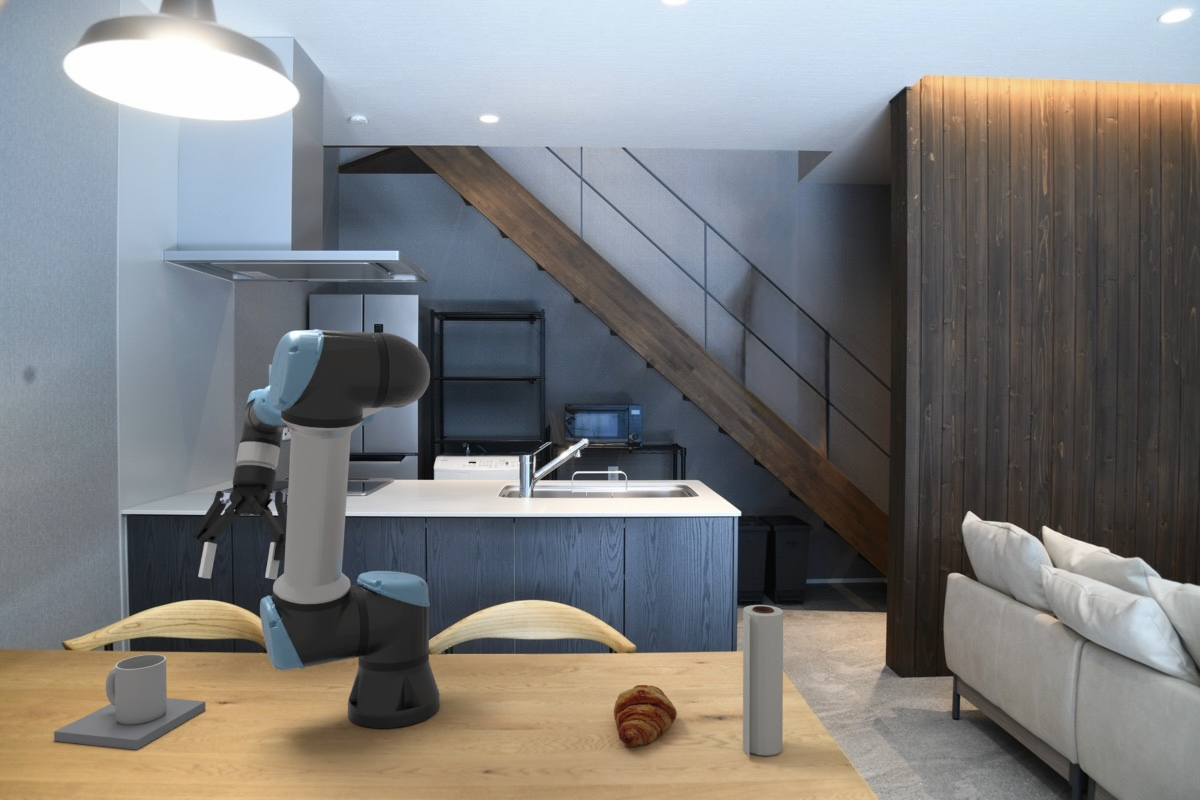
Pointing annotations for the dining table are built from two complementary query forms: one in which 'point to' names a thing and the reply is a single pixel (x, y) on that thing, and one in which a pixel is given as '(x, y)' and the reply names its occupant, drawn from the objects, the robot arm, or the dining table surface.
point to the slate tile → (127, 726)
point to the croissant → (643, 714)
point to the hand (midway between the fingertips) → (237, 578)
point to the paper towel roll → (762, 680)
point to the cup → (138, 689)
